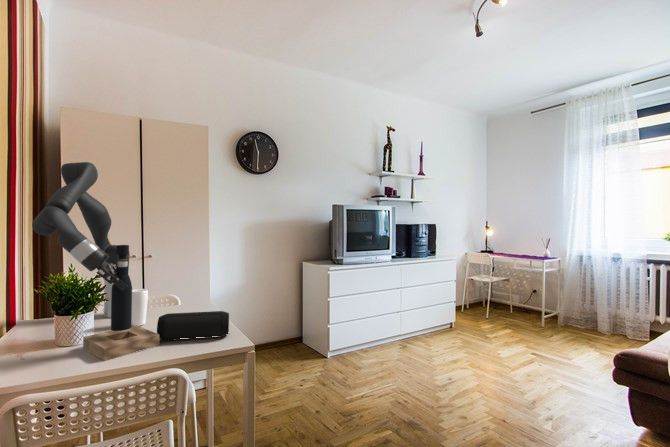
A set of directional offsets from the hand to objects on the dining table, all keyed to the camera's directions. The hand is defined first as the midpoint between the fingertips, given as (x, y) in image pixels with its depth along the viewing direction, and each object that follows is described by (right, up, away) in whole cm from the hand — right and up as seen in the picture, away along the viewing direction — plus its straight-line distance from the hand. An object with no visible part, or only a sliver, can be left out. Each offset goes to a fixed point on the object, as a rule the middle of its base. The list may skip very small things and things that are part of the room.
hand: (127, 287), depth 128 cm
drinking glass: (-10, -21, +26) cm, 35 cm away
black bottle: (-2, -15, 0) cm, 15 cm away
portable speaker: (+20, -22, +11) cm, 32 cm away
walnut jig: (-2, -22, 0) cm, 22 cm away
